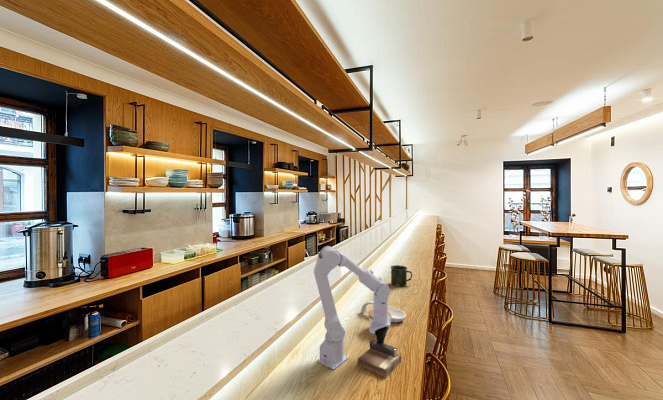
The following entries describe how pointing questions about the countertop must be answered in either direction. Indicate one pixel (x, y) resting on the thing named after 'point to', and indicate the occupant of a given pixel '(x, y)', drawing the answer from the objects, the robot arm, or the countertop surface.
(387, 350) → the folding leg
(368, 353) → the stool seat
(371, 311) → the lidded jar
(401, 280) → the mug
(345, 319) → the countertop surface
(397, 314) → the spoon rest
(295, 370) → the countertop surface
